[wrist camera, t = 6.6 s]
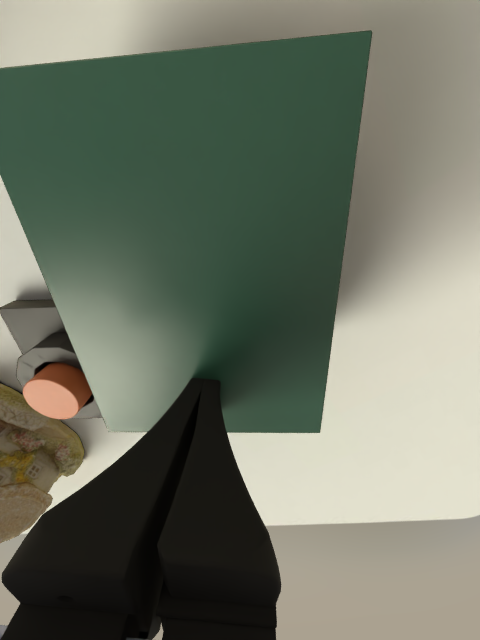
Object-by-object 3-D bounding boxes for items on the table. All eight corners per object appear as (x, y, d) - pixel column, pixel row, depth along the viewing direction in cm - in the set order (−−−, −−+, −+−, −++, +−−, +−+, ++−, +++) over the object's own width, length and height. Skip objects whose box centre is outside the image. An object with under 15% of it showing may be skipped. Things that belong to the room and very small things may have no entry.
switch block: (68, 405, 23) (42, 435, 20) (14, 300, 18) (-30, 321, 15) (152, 405, 23) (138, 436, 20) (120, 296, 18) (95, 317, 15)
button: (54, 400, 19) (36, 419, 17) (33, 362, 17) (11, 379, 16) (100, 400, 19) (86, 419, 17) (83, 361, 17) (66, 378, 15)
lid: (316, 421, 13) (320, 433, 13) (114, 421, 14) (108, 432, 13) (362, 44, 7) (373, 29, 6) (-20, 81, 8) (-45, 71, 7)
